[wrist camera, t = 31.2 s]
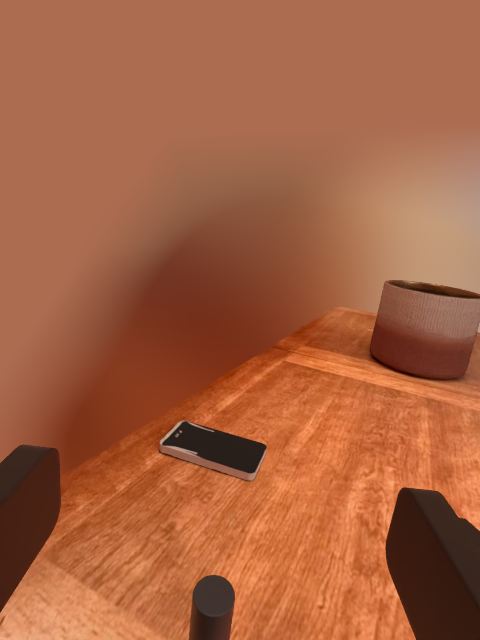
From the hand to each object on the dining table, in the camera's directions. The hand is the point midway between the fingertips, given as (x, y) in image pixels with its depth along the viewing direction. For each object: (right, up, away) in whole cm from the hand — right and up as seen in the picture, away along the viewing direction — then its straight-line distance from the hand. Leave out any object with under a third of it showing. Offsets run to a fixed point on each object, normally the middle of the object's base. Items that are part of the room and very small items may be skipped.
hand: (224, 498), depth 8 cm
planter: (+51, -9, +96) cm, 109 cm away
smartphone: (-4, -16, +47) cm, 50 cm away
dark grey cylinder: (-2, -24, +17) cm, 30 cm away
